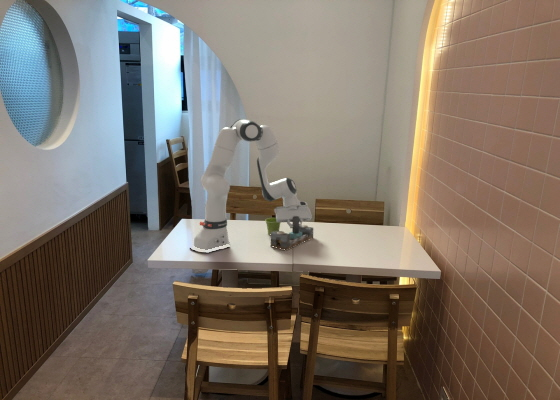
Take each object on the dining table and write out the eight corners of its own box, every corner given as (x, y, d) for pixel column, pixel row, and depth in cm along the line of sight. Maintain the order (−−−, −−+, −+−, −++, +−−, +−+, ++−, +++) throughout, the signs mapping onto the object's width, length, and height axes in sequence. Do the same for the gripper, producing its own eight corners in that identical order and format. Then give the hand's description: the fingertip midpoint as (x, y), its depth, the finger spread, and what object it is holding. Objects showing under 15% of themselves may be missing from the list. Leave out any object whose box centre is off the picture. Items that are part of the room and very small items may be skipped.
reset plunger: (281, 244, 243) (281, 240, 243) (278, 243, 244) (278, 239, 244) (287, 241, 247) (287, 238, 247) (284, 241, 248) (284, 237, 248)
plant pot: (281, 236, 263) (281, 222, 261) (264, 236, 263) (264, 222, 261) (281, 232, 272) (281, 217, 270) (265, 231, 272) (265, 217, 270)
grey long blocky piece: (285, 250, 240) (286, 235, 238) (270, 246, 246) (270, 231, 244) (313, 237, 261) (313, 223, 259) (298, 234, 267) (298, 220, 265)
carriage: (296, 239, 252) (296, 218, 249) (288, 238, 255) (289, 217, 252) (302, 237, 256) (302, 216, 254) (294, 235, 259) (295, 215, 257)
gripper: (274, 204, 255) (278, 226, 248) (309, 202, 260) (314, 223, 253) (272, 210, 261) (276, 231, 254) (307, 208, 266) (312, 229, 259)
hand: (296, 227), depth 254 cm, fingers closed on carriage, 4 cm apart
